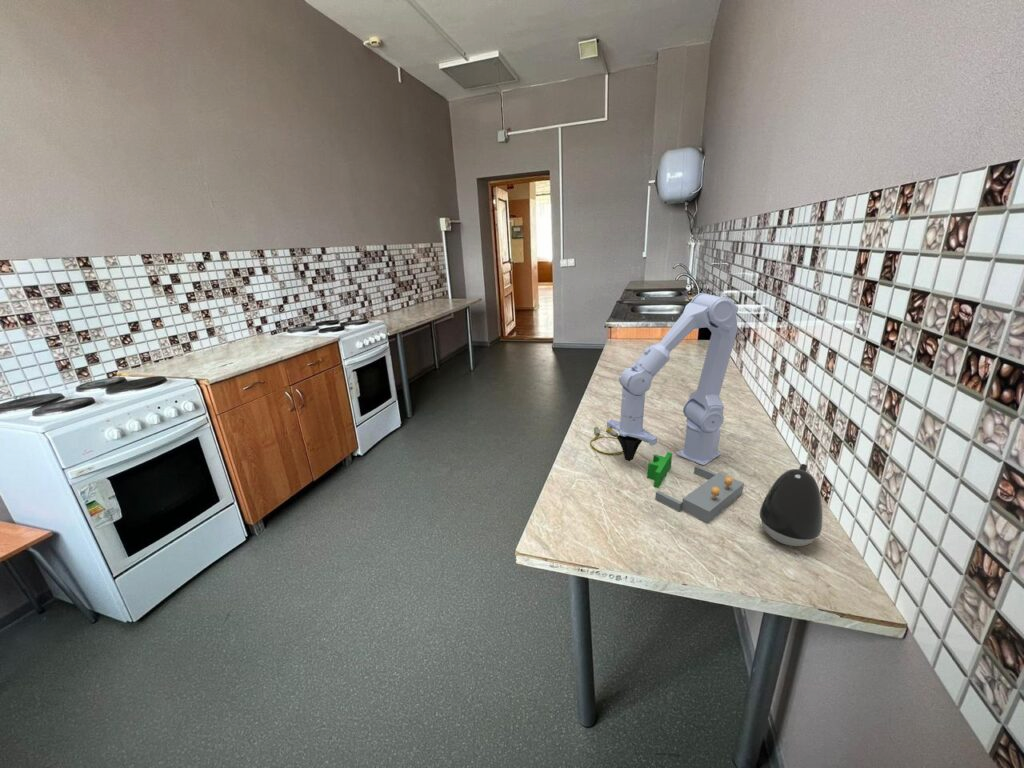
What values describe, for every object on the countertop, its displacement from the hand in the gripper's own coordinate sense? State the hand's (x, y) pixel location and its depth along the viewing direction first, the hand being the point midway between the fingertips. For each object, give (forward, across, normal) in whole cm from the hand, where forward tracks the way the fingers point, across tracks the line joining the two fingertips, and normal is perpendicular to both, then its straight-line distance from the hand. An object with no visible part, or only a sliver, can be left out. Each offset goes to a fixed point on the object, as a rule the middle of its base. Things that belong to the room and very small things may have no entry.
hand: (628, 459), depth 110 cm
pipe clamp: (+1, +9, 0) cm, 9 cm away
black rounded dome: (+1, +38, 0) cm, 38 cm away
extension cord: (+2, -11, +5) cm, 12 cm away
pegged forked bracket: (+1, +20, 0) cm, 20 cm away
